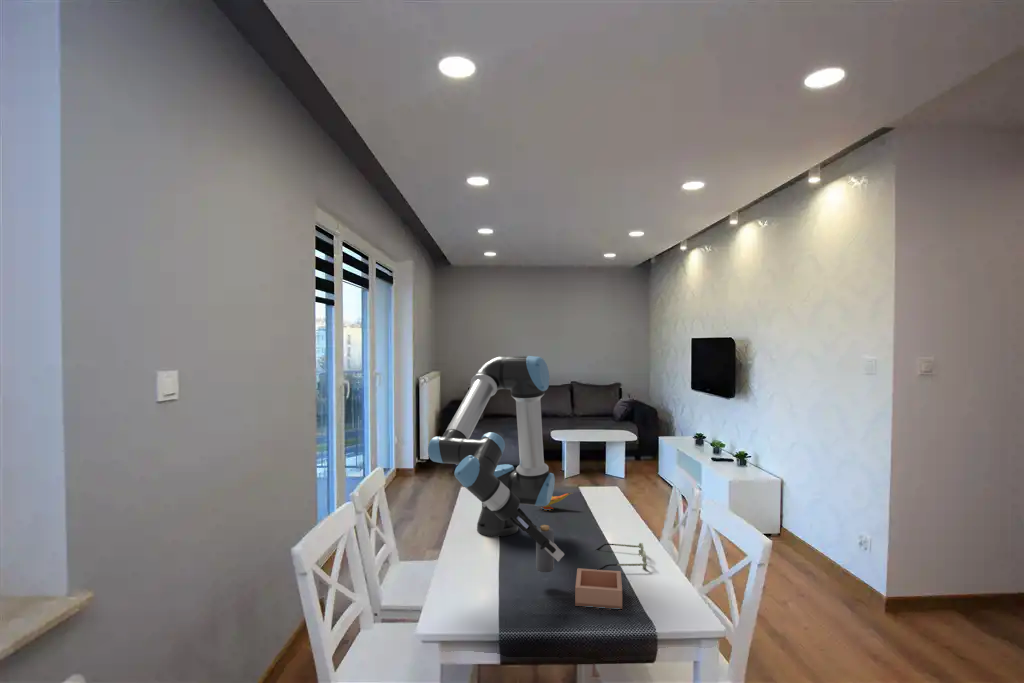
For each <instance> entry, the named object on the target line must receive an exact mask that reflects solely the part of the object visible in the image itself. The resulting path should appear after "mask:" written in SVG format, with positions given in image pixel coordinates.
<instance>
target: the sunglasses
mask: <svg viewBox="0 0 1024 683" xmlns="http://www.w3.org/2000/svg"><path fill="white" fill-rule="evenodd" d="M605 546H617V547H626V548H638V555H639V556H640V555H641V556H640V557H641V561H642V562H643V563H642V562H641V563H618V564H617V563H614V564H610V563H609V564H605V565H603V566H601V567H599V568H598V570H605V568H607V567H613V566H616V567H617V566H619V567H627V566H628V567H634V566H636V567H637V566H640V567H641V566H642V569H643V568H645V570H647V566H648V563H647V554H646V551H645V548H644V543H643V542H639V543H638V545H634V544H622V543H620V544H619V543H604V544H602V545H600V546H599V547H598V548H596V549H595V551H596V550H599V551H600V550H602V548H604V547H605Z"/></svg>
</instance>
